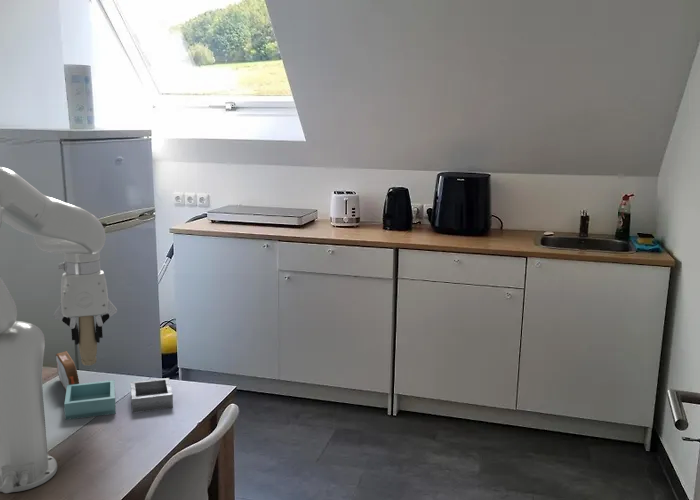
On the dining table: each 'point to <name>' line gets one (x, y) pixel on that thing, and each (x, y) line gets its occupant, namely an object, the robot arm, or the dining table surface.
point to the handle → (87, 340)
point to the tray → (90, 399)
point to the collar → (152, 400)
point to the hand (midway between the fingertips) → (87, 340)
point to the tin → (66, 369)
